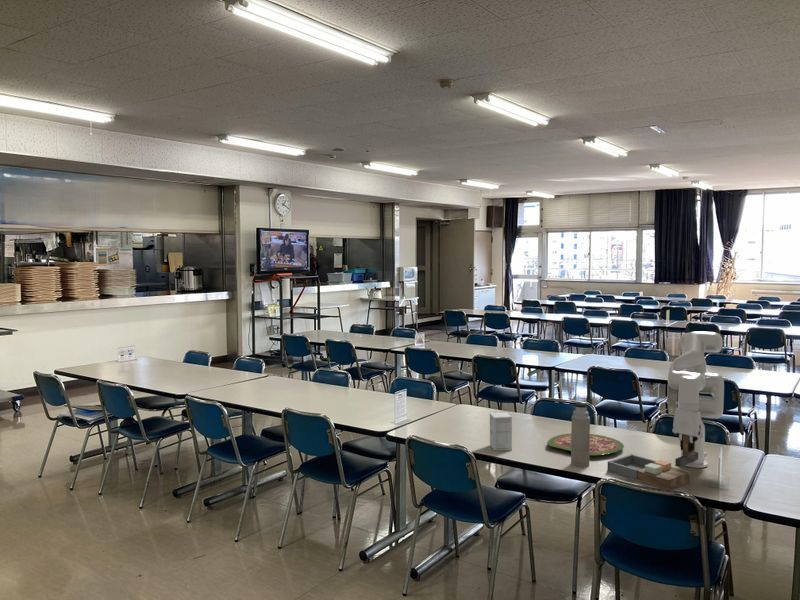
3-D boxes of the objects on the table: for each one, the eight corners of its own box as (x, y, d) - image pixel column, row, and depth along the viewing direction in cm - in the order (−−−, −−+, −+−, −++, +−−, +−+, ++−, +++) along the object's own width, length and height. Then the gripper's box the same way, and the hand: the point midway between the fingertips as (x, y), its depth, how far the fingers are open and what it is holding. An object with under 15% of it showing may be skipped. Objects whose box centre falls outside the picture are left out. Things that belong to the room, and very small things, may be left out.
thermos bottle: (589, 462, 287) (590, 402, 286) (589, 468, 280) (590, 406, 278) (571, 461, 290) (571, 401, 288) (570, 467, 282) (571, 405, 280)
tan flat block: (658, 472, 274) (658, 463, 274) (689, 481, 263) (689, 472, 263) (637, 480, 265) (637, 470, 265) (668, 489, 254) (668, 480, 253)
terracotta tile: (660, 465, 271) (660, 459, 271) (671, 468, 267) (671, 462, 267) (653, 467, 268) (653, 462, 268) (664, 470, 264) (664, 465, 264)
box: (631, 463, 286) (631, 454, 286) (659, 471, 275) (659, 461, 275) (607, 471, 275) (607, 461, 275) (636, 480, 264) (636, 470, 264)
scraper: (692, 458, 261) (693, 425, 260) (698, 459, 259) (699, 426, 258) (674, 465, 253) (675, 432, 252) (680, 467, 251) (681, 433, 250)
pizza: (537, 447, 312) (537, 443, 311) (572, 433, 336) (572, 429, 336) (602, 463, 287) (602, 458, 287) (636, 447, 312) (636, 442, 312)
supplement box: (507, 445, 316) (508, 412, 315) (512, 450, 306) (512, 416, 305) (489, 445, 315) (489, 412, 314) (493, 451, 306) (493, 417, 305)
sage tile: (651, 468, 267) (651, 463, 267) (662, 471, 263) (662, 466, 263) (644, 471, 264) (644, 465, 264) (655, 474, 260) (655, 468, 260)
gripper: (664, 404, 258) (663, 447, 260) (703, 412, 245) (701, 457, 247) (674, 401, 263) (673, 443, 264) (712, 408, 250) (711, 453, 252)
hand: (687, 450), depth 256 cm, fingers closed on scraper, 2 cm apart
